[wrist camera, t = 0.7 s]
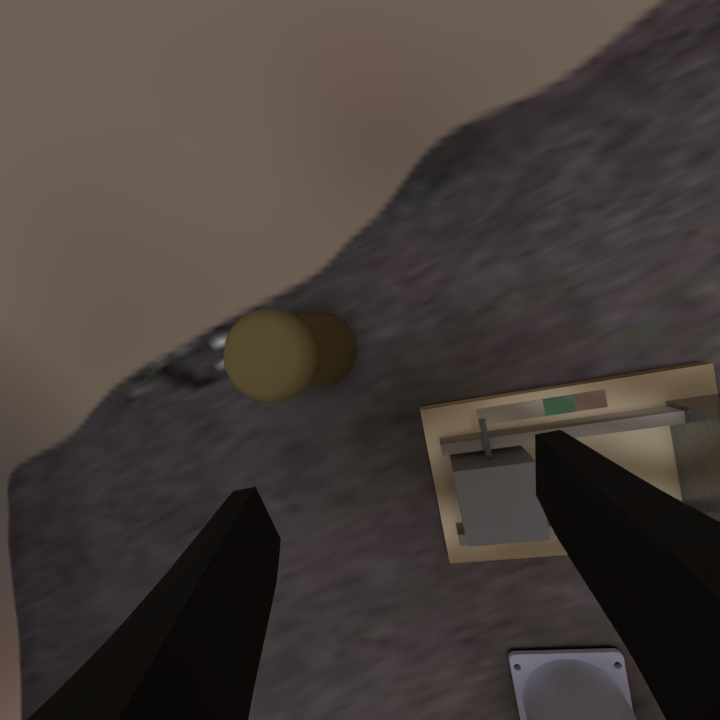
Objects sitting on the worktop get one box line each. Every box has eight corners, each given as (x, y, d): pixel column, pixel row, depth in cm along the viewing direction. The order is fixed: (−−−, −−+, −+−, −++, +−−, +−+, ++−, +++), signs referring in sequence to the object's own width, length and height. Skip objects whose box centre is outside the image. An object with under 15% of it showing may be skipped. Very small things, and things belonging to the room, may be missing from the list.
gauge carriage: (532, 511, 25) (550, 540, 22) (461, 518, 26) (467, 546, 22) (513, 407, 25) (527, 418, 21) (442, 417, 26) (445, 430, 22)
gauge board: (726, 531, 24) (765, 557, 21) (448, 553, 28) (451, 578, 25) (698, 361, 24) (734, 365, 21) (420, 406, 27) (419, 415, 25)
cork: (293, 391, 29) (217, 425, 18) (278, 320, 29) (192, 311, 18) (363, 378, 28) (326, 405, 17) (348, 304, 28) (300, 284, 17)
